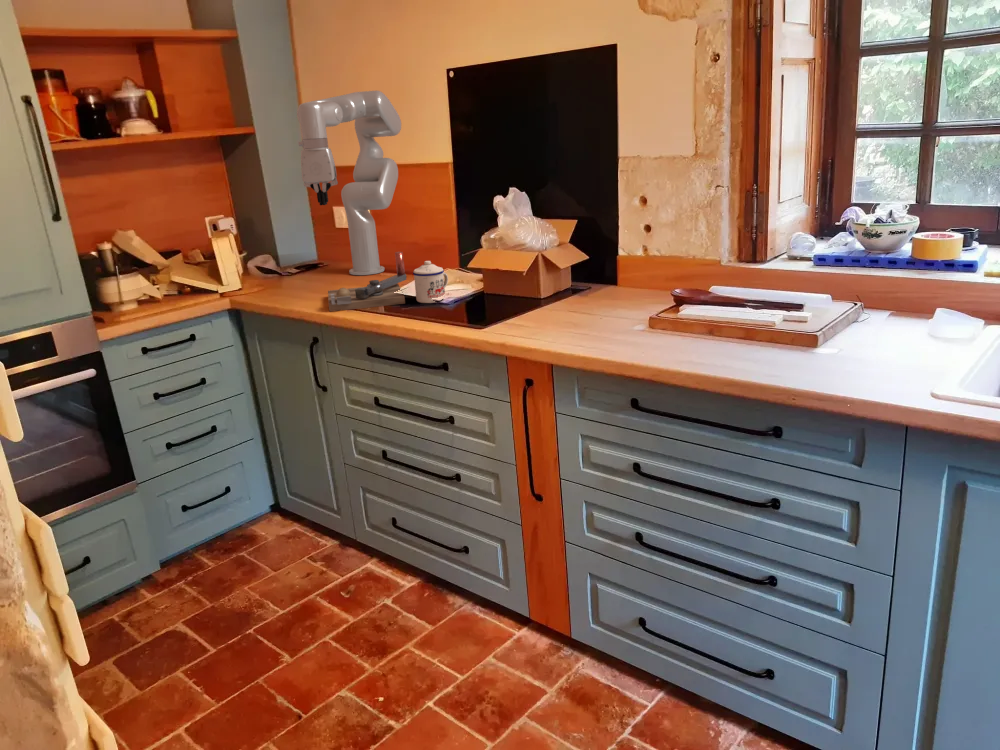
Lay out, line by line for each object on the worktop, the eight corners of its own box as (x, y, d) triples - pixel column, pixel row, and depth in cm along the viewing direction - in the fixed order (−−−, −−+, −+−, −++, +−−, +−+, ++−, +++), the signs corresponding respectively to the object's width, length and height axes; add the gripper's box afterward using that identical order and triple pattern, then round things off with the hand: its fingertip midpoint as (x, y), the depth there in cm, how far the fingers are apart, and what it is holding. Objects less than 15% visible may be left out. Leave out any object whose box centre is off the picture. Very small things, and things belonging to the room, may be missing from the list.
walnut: (337, 300, 223) (335, 287, 222) (350, 299, 224) (349, 285, 223) (337, 303, 219) (335, 290, 218) (351, 302, 220) (349, 288, 219)
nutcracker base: (328, 296, 238) (326, 277, 236) (398, 289, 242) (396, 270, 240) (329, 312, 218) (326, 291, 216) (405, 304, 222) (403, 283, 220)
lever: (397, 281, 242) (394, 251, 239) (409, 282, 240) (406, 251, 237) (356, 298, 223) (352, 265, 220) (369, 298, 221) (365, 266, 218)
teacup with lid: (430, 304, 220) (426, 265, 216) (409, 301, 226) (405, 262, 222) (459, 296, 228) (456, 258, 224) (438, 293, 234) (435, 255, 230)
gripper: (288, 146, 232) (297, 207, 238) (336, 144, 231) (343, 205, 237) (296, 145, 239) (304, 204, 245) (342, 143, 238) (349, 202, 244)
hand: (323, 204), depth 241 cm, fingers closed
